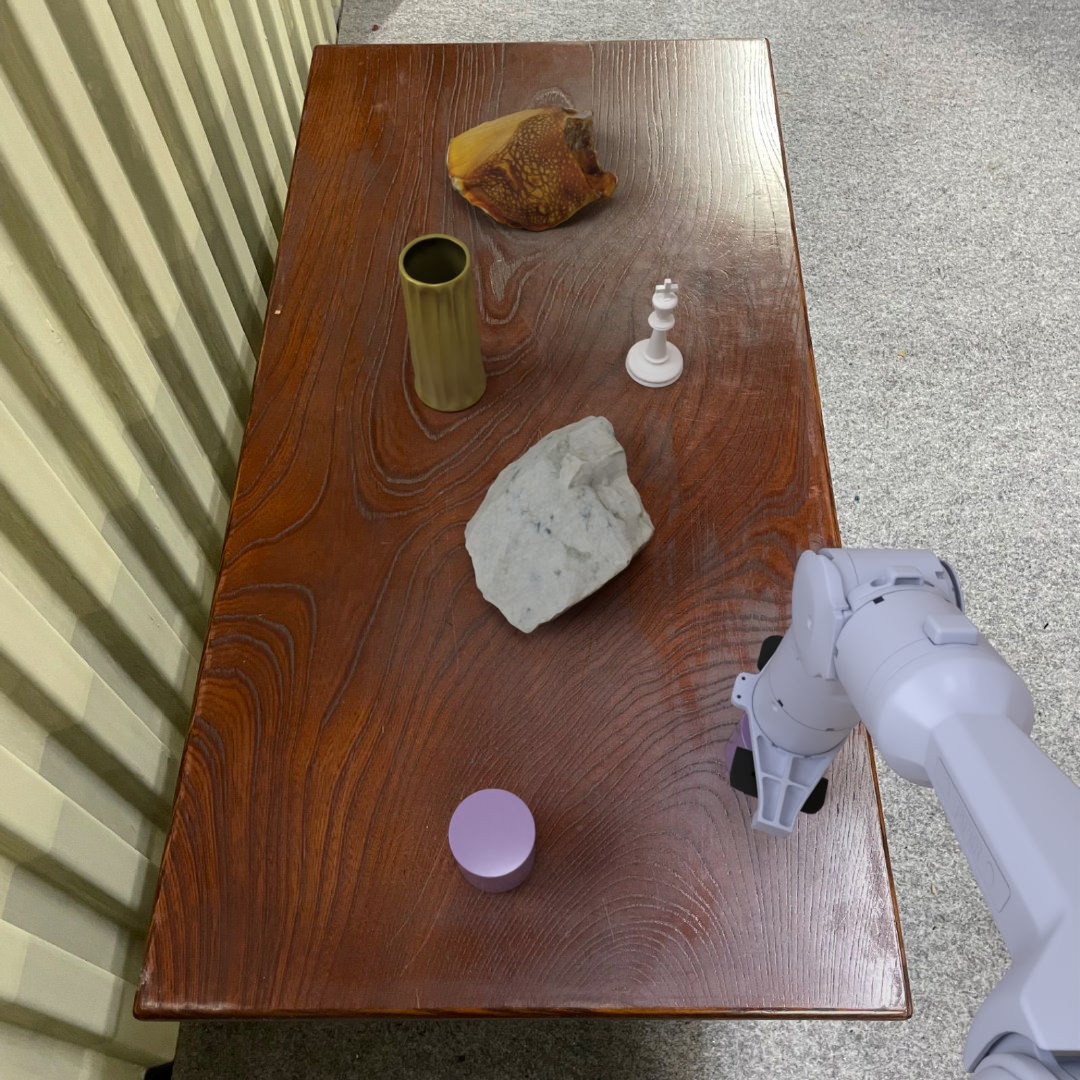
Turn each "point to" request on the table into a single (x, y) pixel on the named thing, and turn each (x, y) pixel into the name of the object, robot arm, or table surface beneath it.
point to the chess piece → (657, 344)
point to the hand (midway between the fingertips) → (768, 751)
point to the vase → (442, 322)
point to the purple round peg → (738, 740)
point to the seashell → (530, 166)
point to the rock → (557, 524)
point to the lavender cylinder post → (493, 840)
